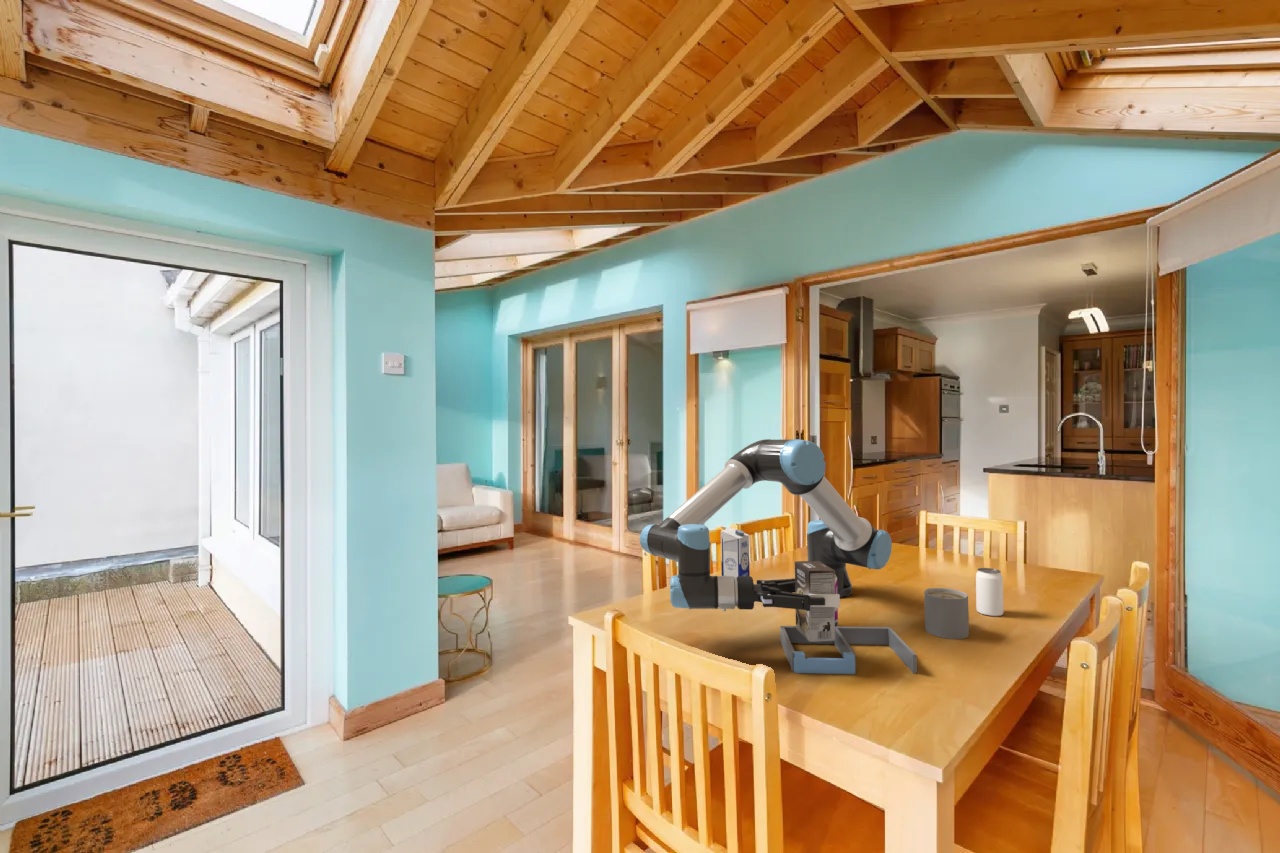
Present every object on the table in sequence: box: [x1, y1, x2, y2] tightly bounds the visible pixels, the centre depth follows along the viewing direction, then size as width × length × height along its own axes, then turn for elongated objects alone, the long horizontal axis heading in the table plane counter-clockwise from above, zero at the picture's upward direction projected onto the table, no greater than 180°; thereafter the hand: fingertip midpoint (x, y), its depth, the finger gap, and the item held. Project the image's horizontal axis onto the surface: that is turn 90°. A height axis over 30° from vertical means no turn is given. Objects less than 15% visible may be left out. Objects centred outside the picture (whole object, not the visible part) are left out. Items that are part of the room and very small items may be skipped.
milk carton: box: [720, 527, 751, 579], centre depth 188 cm, size 7×7×20 cm
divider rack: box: [779, 625, 918, 675], centre depth 133 cm, size 18×26×4 cm
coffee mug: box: [923, 587, 970, 640], centre depth 150 cm, size 13×10×10 cm
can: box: [975, 567, 1004, 617], centre depth 162 cm, size 6×6×12 cm
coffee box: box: [794, 560, 835, 642], centre depth 134 cm, size 9×6×16 cm
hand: (833, 593), depth 134 cm, fingers closed on coffee box, 10 cm apart
